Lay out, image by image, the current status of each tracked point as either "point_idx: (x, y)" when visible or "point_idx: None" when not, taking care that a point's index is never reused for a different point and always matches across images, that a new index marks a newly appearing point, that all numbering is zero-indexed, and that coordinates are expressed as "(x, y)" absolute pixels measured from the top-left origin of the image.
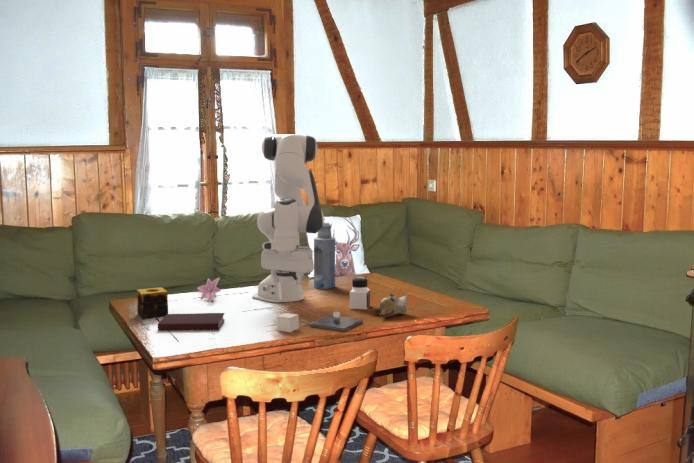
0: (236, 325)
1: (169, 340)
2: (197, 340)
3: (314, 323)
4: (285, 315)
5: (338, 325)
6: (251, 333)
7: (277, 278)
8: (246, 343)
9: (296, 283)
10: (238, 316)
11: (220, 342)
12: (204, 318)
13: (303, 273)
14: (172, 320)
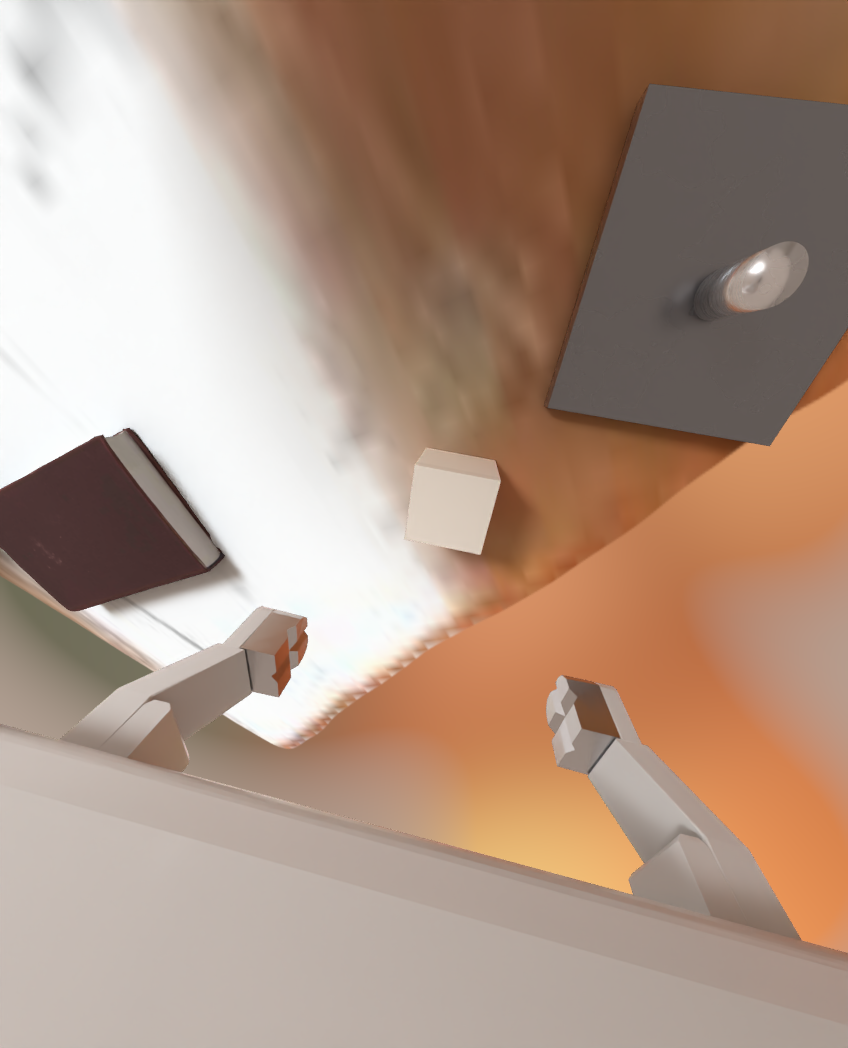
0: (228, 484)
1: None
2: None
3: (571, 398)
4: (437, 516)
5: (732, 395)
6: (346, 566)
7: (283, 676)
8: (393, 655)
9: (557, 722)
10: (115, 329)
11: (322, 657)
12: (122, 542)
13: (747, 908)
14: (67, 582)
